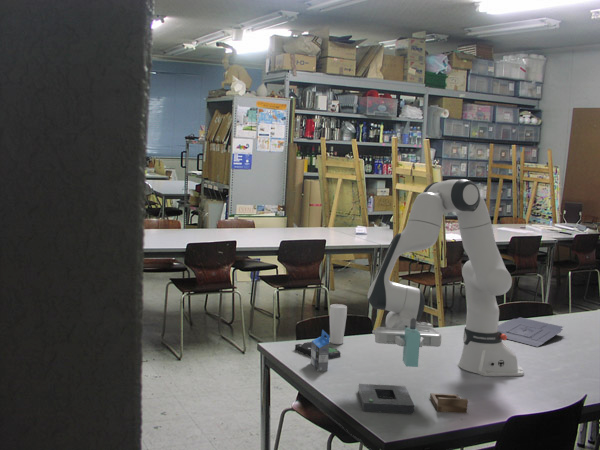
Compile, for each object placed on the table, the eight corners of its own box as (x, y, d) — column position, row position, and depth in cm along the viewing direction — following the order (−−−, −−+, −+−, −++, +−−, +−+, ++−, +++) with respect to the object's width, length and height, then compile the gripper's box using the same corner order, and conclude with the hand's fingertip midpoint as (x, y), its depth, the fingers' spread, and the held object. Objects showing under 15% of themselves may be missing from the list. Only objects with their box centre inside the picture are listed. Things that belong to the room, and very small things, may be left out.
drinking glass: (347, 342, 250) (350, 305, 249) (339, 346, 244) (342, 308, 243) (333, 339, 254) (335, 303, 252) (324, 343, 248) (326, 305, 247)
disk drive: (294, 351, 237) (319, 362, 225) (294, 344, 236) (320, 354, 225) (315, 347, 243) (341, 357, 232) (315, 340, 243) (341, 350, 231)
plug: (414, 360, 190) (417, 316, 188) (417, 366, 184) (421, 320, 183) (402, 360, 190) (405, 315, 188) (405, 366, 184) (409, 320, 182)
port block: (404, 393, 196) (405, 384, 196) (413, 413, 180) (414, 404, 180) (358, 391, 196) (359, 382, 196) (363, 411, 180) (364, 401, 180)
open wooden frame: (457, 399, 194) (458, 386, 193) (466, 413, 183) (467, 400, 182) (430, 397, 194) (431, 385, 193) (437, 411, 183) (438, 398, 182)
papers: (567, 333, 278) (568, 325, 278) (537, 353, 258) (538, 344, 257) (515, 322, 295) (516, 314, 295) (483, 339, 275) (484, 331, 274)
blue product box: (309, 363, 222) (311, 329, 221) (320, 363, 223) (322, 329, 222) (317, 371, 213) (319, 336, 212) (328, 371, 214) (330, 336, 213)
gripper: (372, 320, 199) (377, 331, 186) (436, 323, 199) (446, 335, 186) (370, 339, 200) (376, 352, 186) (434, 343, 200) (444, 356, 186)
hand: (411, 344), depth 186 cm, fingers closed on plug, 3 cm apart
